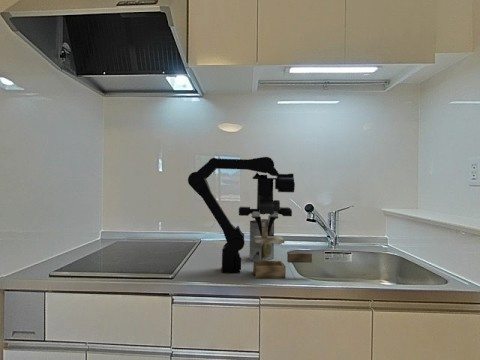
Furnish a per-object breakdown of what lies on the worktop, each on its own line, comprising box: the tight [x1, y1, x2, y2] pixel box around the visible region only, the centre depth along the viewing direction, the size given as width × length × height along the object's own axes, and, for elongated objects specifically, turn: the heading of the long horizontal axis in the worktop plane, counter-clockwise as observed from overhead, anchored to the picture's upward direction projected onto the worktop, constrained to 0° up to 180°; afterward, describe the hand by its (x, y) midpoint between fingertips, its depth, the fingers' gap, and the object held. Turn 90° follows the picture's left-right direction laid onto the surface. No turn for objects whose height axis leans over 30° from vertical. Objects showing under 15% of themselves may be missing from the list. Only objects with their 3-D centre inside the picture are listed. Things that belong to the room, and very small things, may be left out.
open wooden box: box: [252, 260, 287, 279], centre depth 128 cm, size 10×8×4 cm
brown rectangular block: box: [286, 252, 313, 264], centre depth 126 cm, size 8×2×3 cm, turn 95°
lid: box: [254, 226, 286, 244], centre depth 132 cm, size 10×8×5 cm
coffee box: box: [249, 218, 275, 261], centre depth 153 cm, size 9×6×16 cm
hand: (264, 235), depth 133 cm, fingers closed on lid, 2 cm apart
